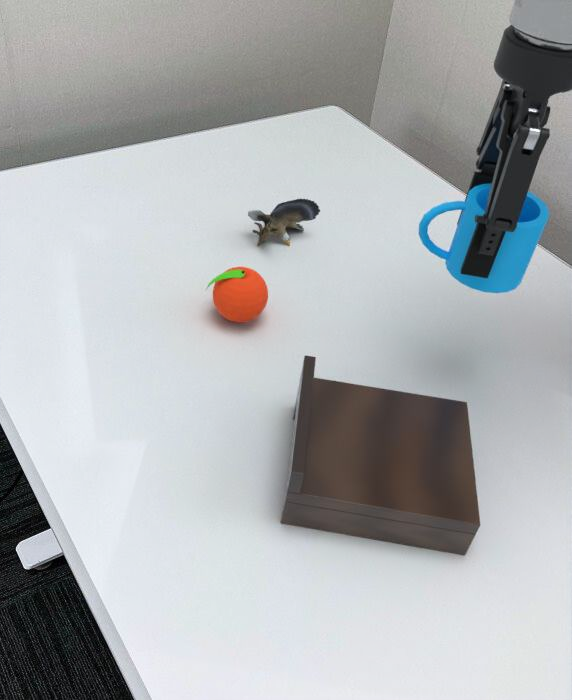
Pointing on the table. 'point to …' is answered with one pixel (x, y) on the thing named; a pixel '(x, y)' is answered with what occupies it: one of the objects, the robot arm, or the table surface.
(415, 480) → the dark wooden box
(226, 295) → the clementine
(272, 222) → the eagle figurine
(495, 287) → the mug
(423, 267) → the table surface
